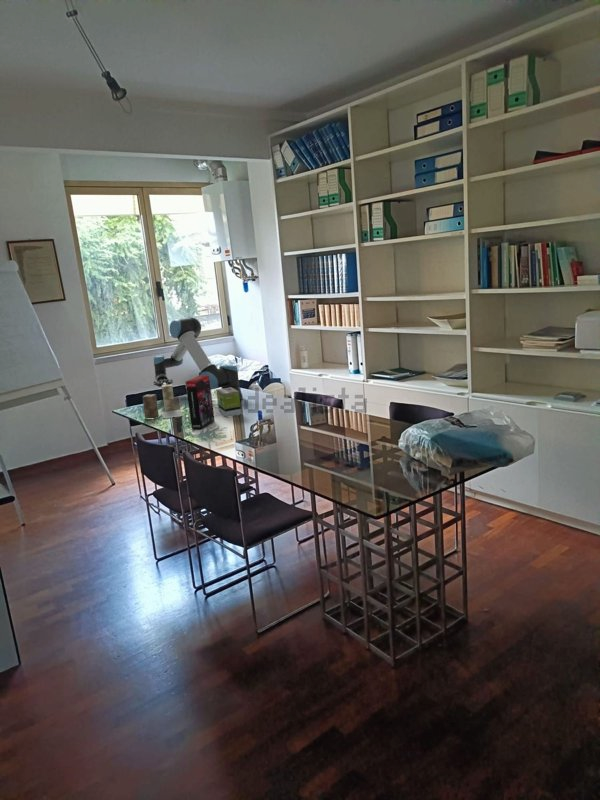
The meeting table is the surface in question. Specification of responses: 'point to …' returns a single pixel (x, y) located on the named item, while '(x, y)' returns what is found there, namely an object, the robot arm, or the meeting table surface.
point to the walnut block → (150, 406)
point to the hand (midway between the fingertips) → (165, 386)
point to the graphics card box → (200, 402)
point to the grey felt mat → (172, 414)
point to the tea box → (228, 401)
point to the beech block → (168, 397)
